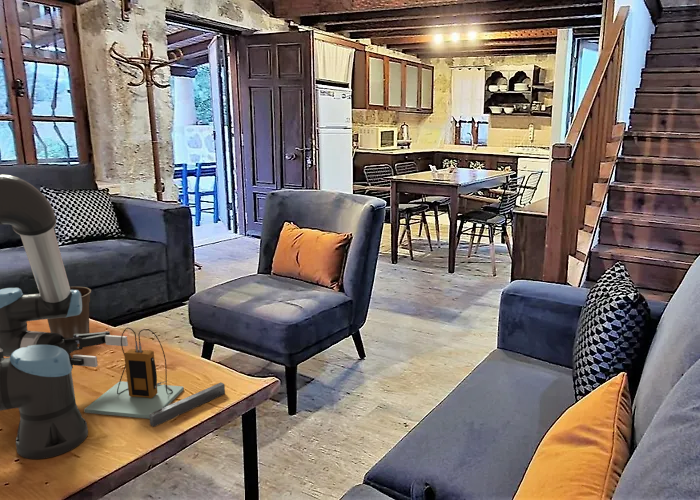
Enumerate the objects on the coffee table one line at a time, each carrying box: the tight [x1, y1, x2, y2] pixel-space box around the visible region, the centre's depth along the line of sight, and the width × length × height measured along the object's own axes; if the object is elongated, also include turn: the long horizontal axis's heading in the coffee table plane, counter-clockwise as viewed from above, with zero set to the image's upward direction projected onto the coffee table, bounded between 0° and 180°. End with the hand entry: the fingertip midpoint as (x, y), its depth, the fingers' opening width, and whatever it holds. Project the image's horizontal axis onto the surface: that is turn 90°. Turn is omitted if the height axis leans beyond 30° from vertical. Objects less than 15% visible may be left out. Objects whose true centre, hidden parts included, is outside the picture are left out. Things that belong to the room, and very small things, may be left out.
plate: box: [83, 380, 184, 420], centre depth 149 cm, size 16×20×1 cm
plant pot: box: [46, 286, 92, 338], centre depth 194 cm, size 16×16×16 cm
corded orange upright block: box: [117, 327, 173, 398], centre depth 151 cm, size 15×10×20 cm
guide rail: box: [149, 382, 226, 428], centre depth 145 cm, size 22×2×3 cm, turn 140°
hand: (112, 351), depth 149 cm, fingers open, 13 cm apart
